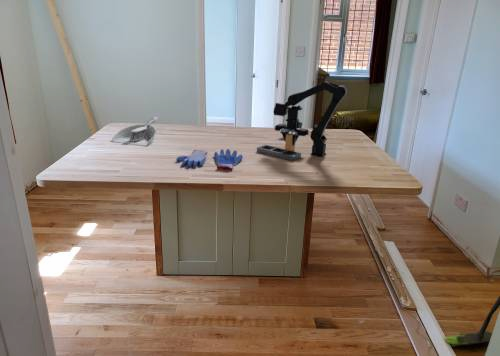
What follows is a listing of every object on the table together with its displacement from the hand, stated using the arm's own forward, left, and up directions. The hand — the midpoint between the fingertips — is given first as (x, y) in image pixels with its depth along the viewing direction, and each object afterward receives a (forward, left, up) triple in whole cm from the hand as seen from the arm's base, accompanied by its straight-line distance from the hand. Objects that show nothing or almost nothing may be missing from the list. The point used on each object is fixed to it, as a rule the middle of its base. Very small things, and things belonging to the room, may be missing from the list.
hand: (290, 144), depth 219 cm
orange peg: (0, 0, -3) cm, 3 cm away
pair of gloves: (+20, +45, -4) cm, 49 cm away
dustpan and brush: (+77, +39, -4) cm, 87 cm away
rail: (0, +12, -3) cm, 12 cm away
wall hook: (+14, -22, -3) cm, 26 cm away
